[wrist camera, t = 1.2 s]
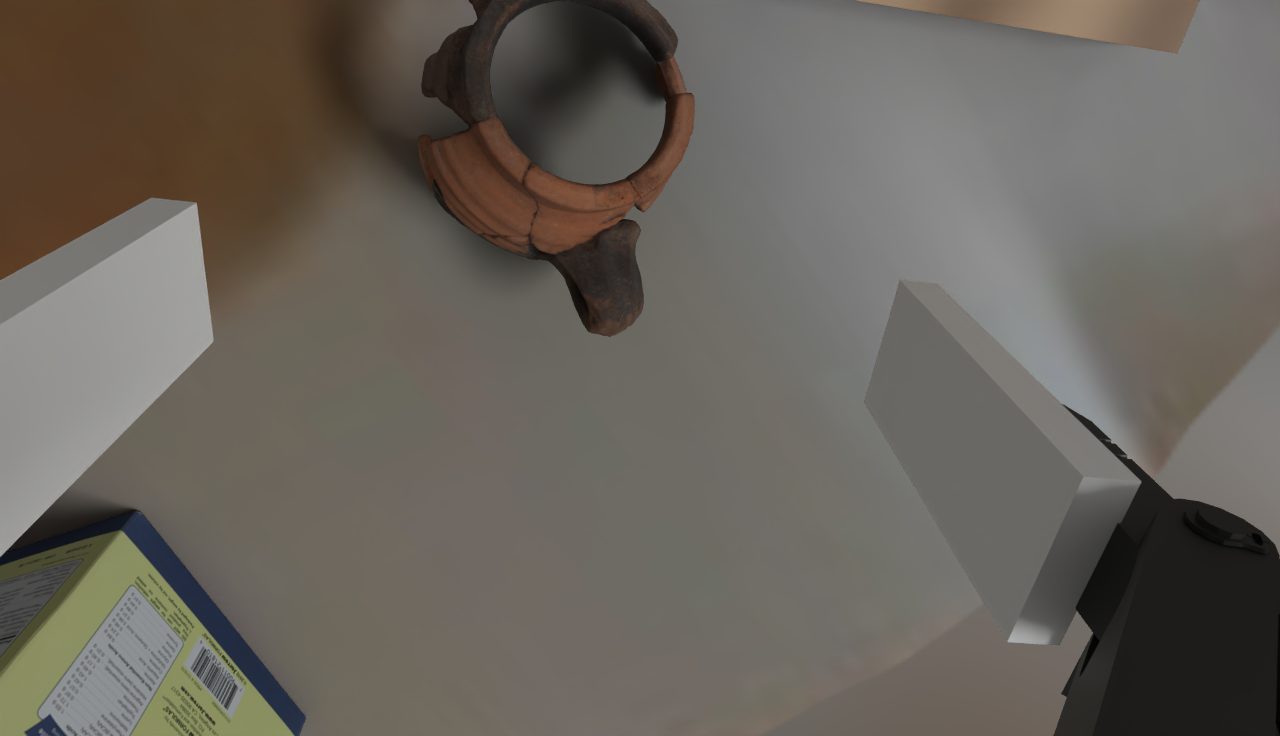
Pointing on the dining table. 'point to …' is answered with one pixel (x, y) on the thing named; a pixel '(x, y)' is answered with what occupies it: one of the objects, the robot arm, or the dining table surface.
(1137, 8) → the tan plinth
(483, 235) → the broken clay pot rim
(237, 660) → the protein box
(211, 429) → the dining table surface
